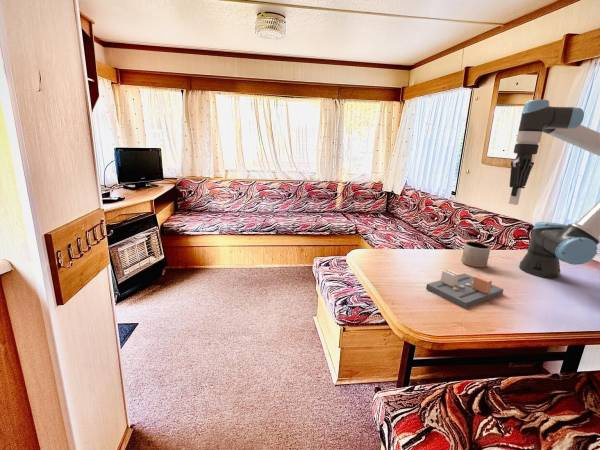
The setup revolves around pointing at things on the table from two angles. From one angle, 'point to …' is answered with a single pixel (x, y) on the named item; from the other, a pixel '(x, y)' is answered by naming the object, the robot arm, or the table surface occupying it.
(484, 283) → the block
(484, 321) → the table surface
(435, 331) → the table surface
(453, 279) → the block
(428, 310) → the table surface
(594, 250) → the robot arm
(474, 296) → the grey slider base plate
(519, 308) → the table surface
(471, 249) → the planter
